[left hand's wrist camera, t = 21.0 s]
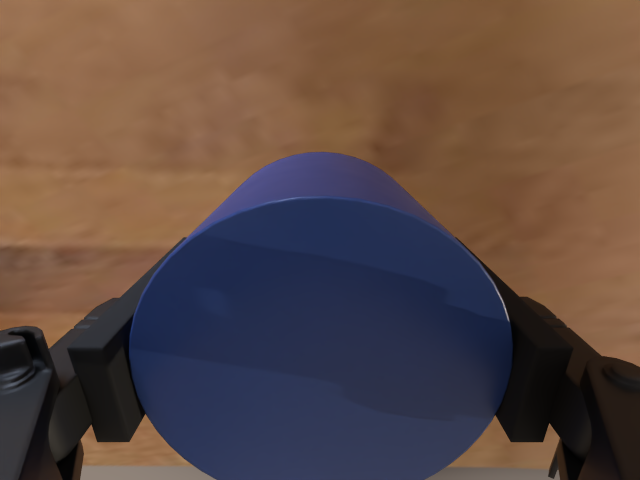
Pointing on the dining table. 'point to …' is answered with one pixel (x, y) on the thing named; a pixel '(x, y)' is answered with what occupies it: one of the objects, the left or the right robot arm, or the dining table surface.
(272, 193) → the cylinder
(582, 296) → the dining table surface
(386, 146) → the dining table surface
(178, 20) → the dining table surface
